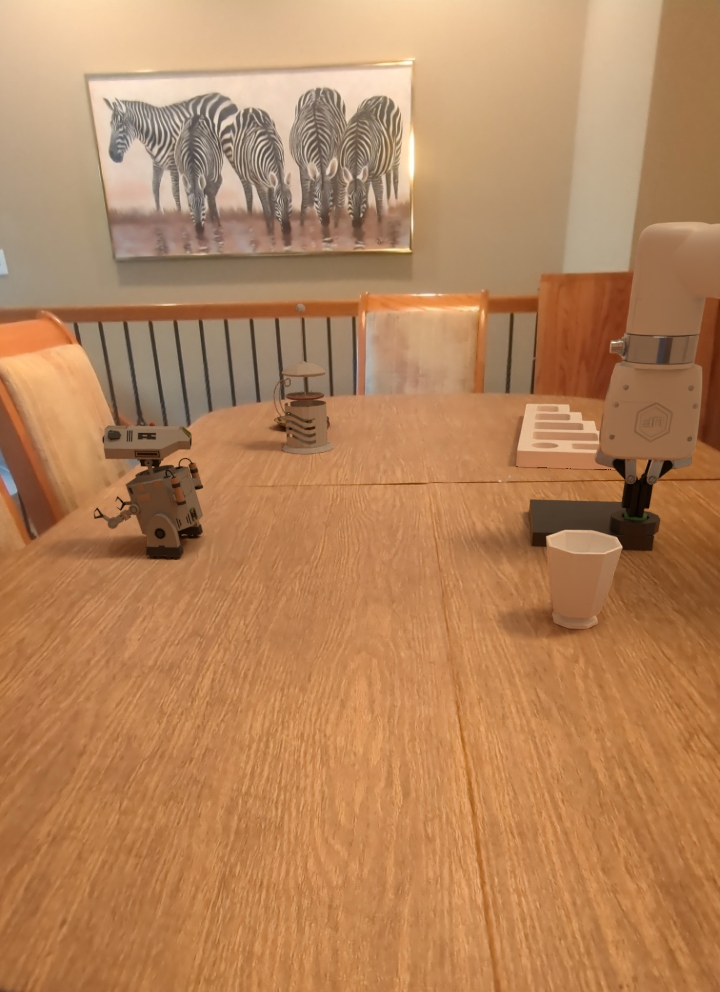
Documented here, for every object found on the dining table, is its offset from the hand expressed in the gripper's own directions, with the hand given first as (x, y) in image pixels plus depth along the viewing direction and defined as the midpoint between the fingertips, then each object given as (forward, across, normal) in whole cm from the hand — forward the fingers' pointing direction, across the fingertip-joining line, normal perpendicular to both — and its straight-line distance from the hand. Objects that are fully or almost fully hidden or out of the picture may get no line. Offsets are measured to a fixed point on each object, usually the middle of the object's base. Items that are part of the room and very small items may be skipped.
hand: (633, 513), depth 90 cm
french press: (+4, -53, +48) cm, 72 cm away
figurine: (+4, -58, -8) cm, 58 cm away
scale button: (+2, 0, 0) cm, 2 cm away
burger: (+4, -58, +67) cm, 89 cm away
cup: (+4, -8, -22) cm, 23 cm away
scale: (+4, -5, +4) cm, 8 cm away
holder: (+4, -3, +59) cm, 59 cm away
